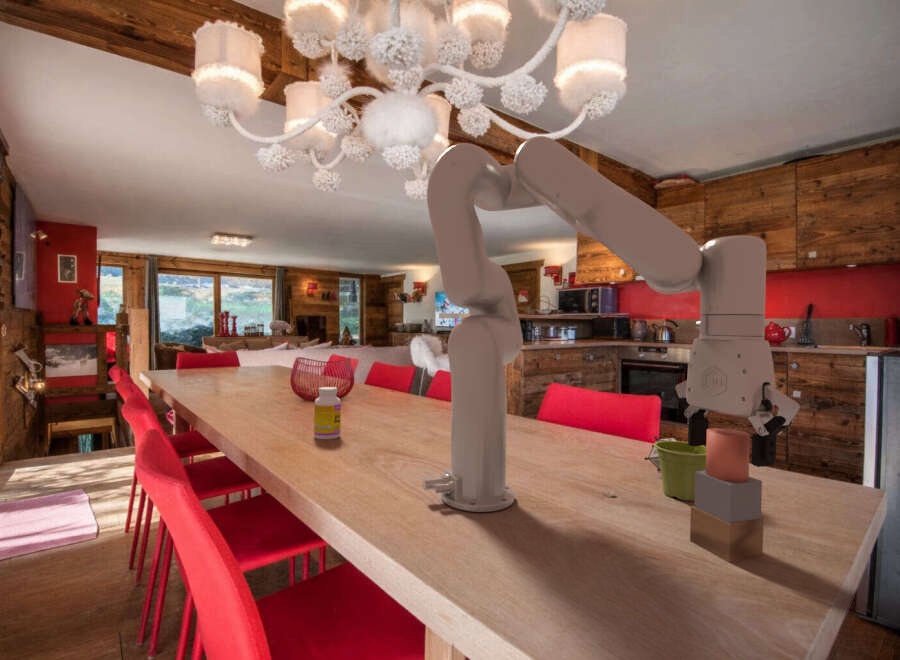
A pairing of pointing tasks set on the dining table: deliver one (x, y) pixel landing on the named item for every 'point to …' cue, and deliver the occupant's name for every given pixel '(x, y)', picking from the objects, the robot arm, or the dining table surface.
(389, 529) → the dining table surface
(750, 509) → the tower top
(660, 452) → the plant pot
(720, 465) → the cylinder
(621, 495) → the dining table surface
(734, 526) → the tower base
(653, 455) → the game die
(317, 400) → the supplement bottle
